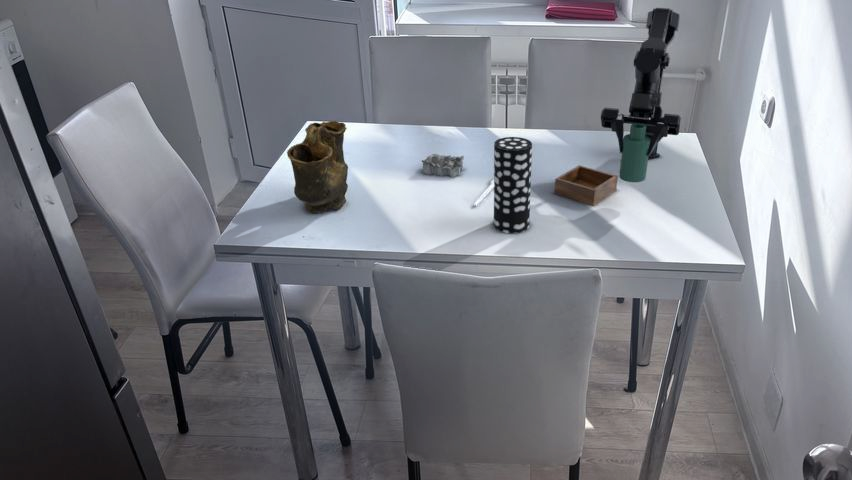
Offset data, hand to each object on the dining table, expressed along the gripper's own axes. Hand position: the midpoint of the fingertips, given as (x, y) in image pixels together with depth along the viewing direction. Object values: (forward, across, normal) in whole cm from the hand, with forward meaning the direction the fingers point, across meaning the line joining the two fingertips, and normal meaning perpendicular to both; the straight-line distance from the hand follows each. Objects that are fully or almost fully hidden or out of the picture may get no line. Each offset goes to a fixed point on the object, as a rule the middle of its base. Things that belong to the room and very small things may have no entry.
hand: (634, 153), depth 167 cm
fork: (+12, -35, +7) cm, 38 cm away
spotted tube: (+24, -25, -5) cm, 34 cm away
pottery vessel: (+25, -72, -6) cm, 76 cm away
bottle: (+4, 0, +6) cm, 7 cm away
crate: (+7, -12, +12) cm, 18 cm away
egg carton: (+6, -51, +14) cm, 53 cm away
